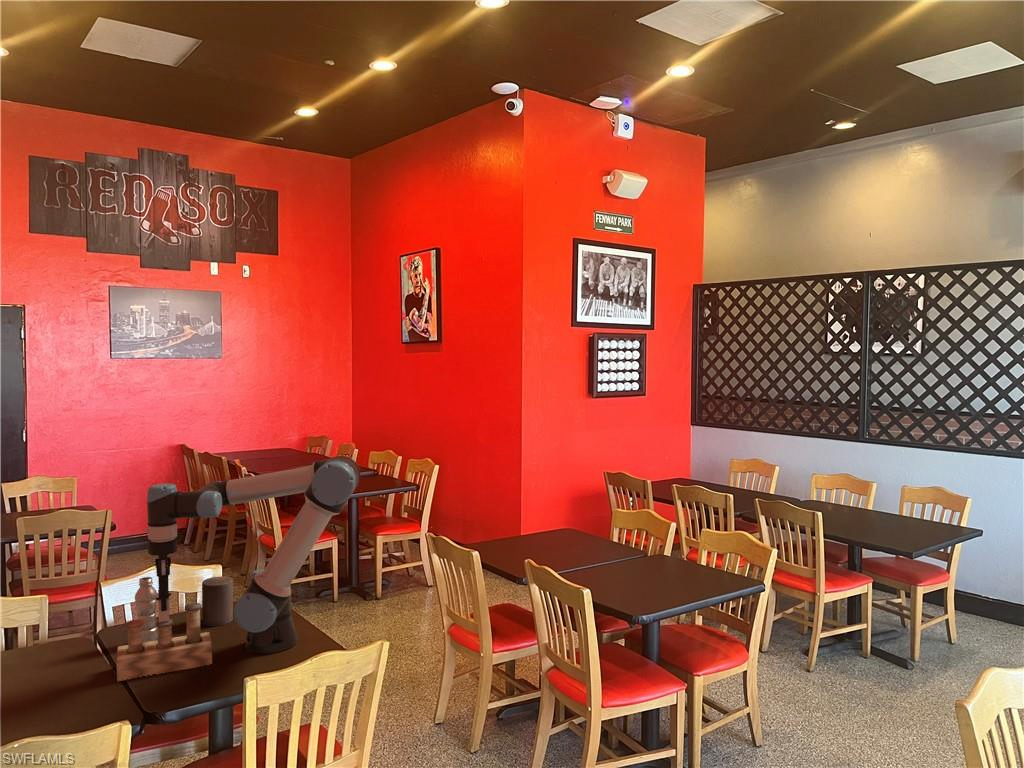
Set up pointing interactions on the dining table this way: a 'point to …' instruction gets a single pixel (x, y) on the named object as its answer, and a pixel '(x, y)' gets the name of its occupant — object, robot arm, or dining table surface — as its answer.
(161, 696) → the dining table surface
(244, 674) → the dining table surface
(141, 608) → the plastic bottle
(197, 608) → the plug left
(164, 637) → the plug middle
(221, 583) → the pillar candle
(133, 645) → the plug terracotta
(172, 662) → the socket block
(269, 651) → the robot arm
